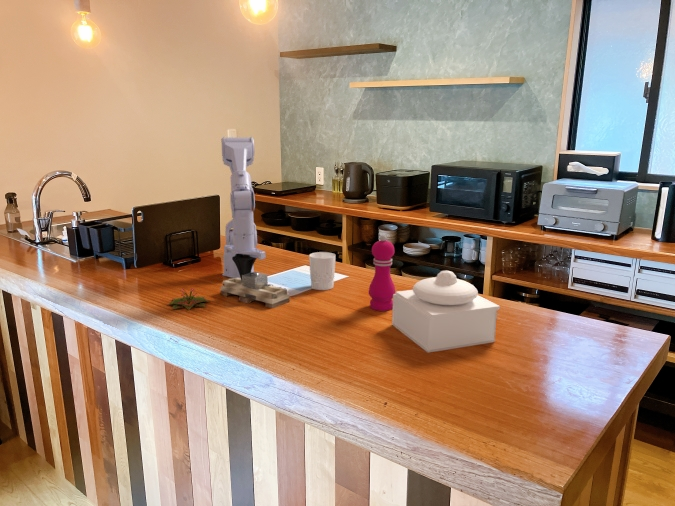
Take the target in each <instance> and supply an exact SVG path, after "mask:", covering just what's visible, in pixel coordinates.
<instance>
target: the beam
mask: <svg viewBox="0 0 675 506" xmlns="http://www.w3.org/2000/svg"><path fill="white" fill-rule="evenodd" d="M220 295H221V296H225V297H227V296H228V297H229V296H231V295H235V296H236V295H237V296H238V301H239V302H241V303H244V304H248V303H251V302H254V301H258V302H263V303H265V307H266V308H270V309H275V308H276V307H279V306H281V305H285V304H287V303H290V293H289V292H288V289H286V288H282V287H278V286H274V285H271V284H268V285H265V286H262V289H260V288H256V289H254V288H250V287H246V286H242V280H241V278H237V277H235V278H229V279H225V280H223V281H222V285H220Z"/></svg>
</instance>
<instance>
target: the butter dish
mask: <svg viewBox="0 0 675 506" xmlns="http://www.w3.org/2000/svg"><path fill="white" fill-rule="evenodd" d="M392 300H393V308H392V319H391V323H392V326H393V327H394V328H396V329H397V330H398V331H400V333H402V334H403V335H404V336H406V337H407V338H408V339H409V340H411V341H412V342H414V343H415V344H416V345H417V346H419V347H420V348H421V349H422V350H424V351H425V352H426V353H427V354H428V353H433V352H434V353H435V352H440V351H446V350H453V349H458V348H459V349H460V348H466V347H471V346H477V345H484V344H490V343H495V339H496V332H497V331H496V329H497V317H498V310H500V309H501V306H500V305H498V304H497V303H495V302H492V301H490V300H488V299H487V298H484V297H482V296H480V295H479V291H478V289H477V288H476V287H475V286H474V284H471V283H470V282H468V281H465V280H463V279H459V278H457V275H456V274H455V273H454V272H453V271H450V270H441V271H440V272H439V273H437V275H436V276H435V277H428V278H423V279H421V280H418V281H417V282H416V283H415V284H414V285H413V286H412V289H408V290H399V291H395V294H393V298H392Z"/></svg>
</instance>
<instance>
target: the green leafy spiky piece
mask: <svg viewBox="0 0 675 506" xmlns="http://www.w3.org/2000/svg"><path fill="white" fill-rule="evenodd" d="M182 290H183V291H182ZM194 290H195V288H190V292H189V293H188V294H189V295H188V294H187V292H186V290H185V289H184V288H181V289H180V290H179V291H180V292H182V293H183V294H181V295H180V296H182V298H181V297H178V298H172V301H171V302H169V303H167V306H168V305H172V309H171V310H177V309H181V308H182V309H183V308H186V309H187V310H188V311H190V310H191V308H193V307H194V306H197V307H203V308H205V307H207V306H206V305H205V303H204V302H209V300H208V299H206V298H205V297H206V296H195V295H197V294H198V293H197V292H196V293H195V291H194ZM184 295H185V296H184Z"/></svg>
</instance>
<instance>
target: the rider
mask: <svg viewBox="0 0 675 506" xmlns="http://www.w3.org/2000/svg"><path fill="white" fill-rule="evenodd" d="M265 285H269V284H268V274H267V273H263V272H259V271H254V272H251V273H248V274H245V275H242V286H246V287H250V288H254V289H256V288H260V289H262V286H265Z"/></svg>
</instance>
